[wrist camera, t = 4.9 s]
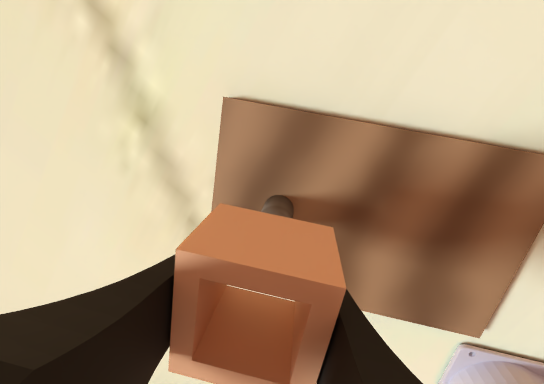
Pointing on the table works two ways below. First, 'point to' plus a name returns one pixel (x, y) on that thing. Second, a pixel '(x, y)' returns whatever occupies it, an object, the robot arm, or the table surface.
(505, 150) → the plate
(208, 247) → the collar
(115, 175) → the table surface
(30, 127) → the table surface
